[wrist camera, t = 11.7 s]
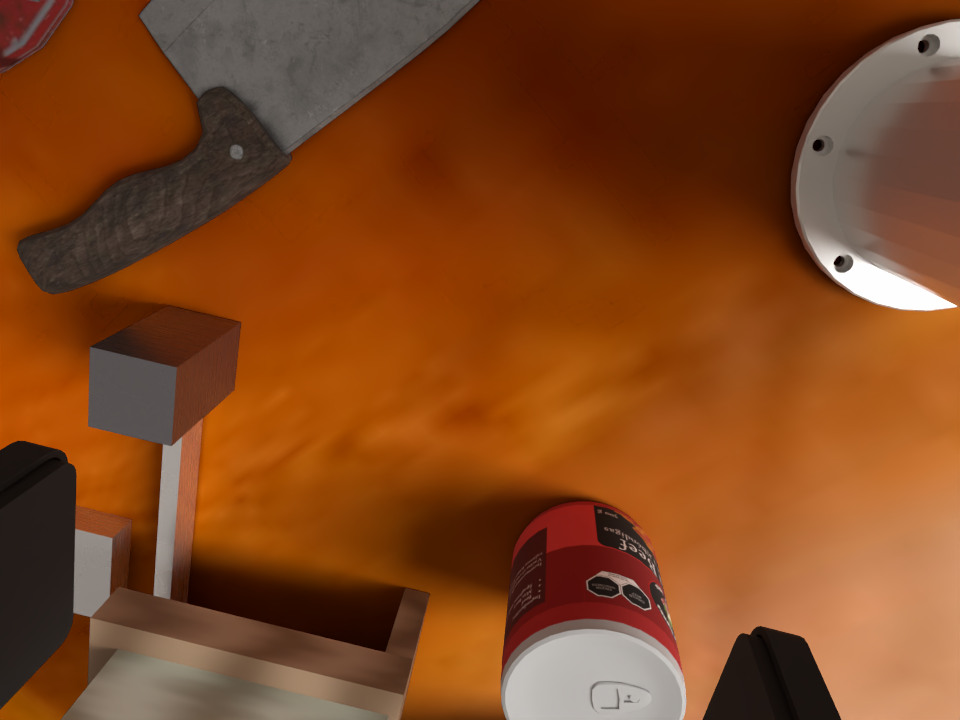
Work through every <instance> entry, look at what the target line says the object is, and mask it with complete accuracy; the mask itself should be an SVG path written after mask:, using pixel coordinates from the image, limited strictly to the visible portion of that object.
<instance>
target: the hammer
mask: <svg viewBox="0 0 960 720" xmlns="http://www.w3.org/2000/svg"><path fill="white" fill-rule="evenodd" d="M240 327H241V322H237V321H233V320H229V319H224V318H220V317H216V316H212V315H207V314H203V313H199V312H195V311H190V310H186V309H182V308H178V307H173V306H169V305H168V306H167V307H165V308H163V309H161V310H159V311H157V312H155V313H153V314H151V315H150V316H148V317H146V318H144V319H142V320H140V321H138V322H136V323H134V324H133V325H131V326H129V327H127V328H125V329H123V330H121V331H119V332H117V333H116V334H114V335H112V336H110V337H108V338H106V339H104V340H102V341H100V342H99V343H97V344H95V345H93V346H91V347H90V372H89V416H88V426H89V427H93V428H97V429H101V430H105V431H110V432H114V433H118V434H122V435H126V436H130V437H135V438H139V439H143V440H147V441H151V442H156V443H160V444H163V454H162V470H161V485H160V501H159V517H158V532H157V548H156V564H155V579H154V596H158V597H162V598H166V599H170V600H174V601H178V602H182V603H187V600H188V588H189V576H190V564H191V553H192V541H193V529H194V517H195V505H196V493H197V482H198V470H199V458H200V446H201V434H202V422H203V418H204V417H205V416H206V415H207V414H208V413H209V412H210V411H211V410H212V409H214V408H215V407H216V406H217V405H218V404H219V403H220V402H221V401H222V400H224V399H225V398H226V397H227V396H228V395H229V394H230V393H231V392H232V391H234V387H235V377H236V367H237V357H238V347H239V337H240Z"/></svg>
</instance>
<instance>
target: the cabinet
mask: <svg viewBox="0 0 960 720" xmlns="http://www.w3.org/2000/svg"><path fill="white" fill-rule="evenodd" d="M429 595H430V594H429V593H425V592H421V591H417V590H413V589H409V588H405V591H404V594H403V597H402V600H401V603H400V607H399V610H398V613H397V616H396V619H395V623H394V626H393V629H392V632H391V635H390V639H389V642H388V645H387V648H386V652H382V651H378V650H374V649H370V648H366V647H361V646H357V645H353V644H349V643H345V642H341V641H337V640H333V639H329V638H325V637H321V636H317V635H313V634H309V633H305V632H300V631H296V630H292V629H288V628H284V627H280V626H276V625H272V624H268V623H264V622H260V621H256V620H252V619H248V618H243V617H239V616H235V615H231V614H227V613H223V612H219V611H215V610H211V609H207V608H203V607H199V606H195V605H191V604H187V603H182V602H178V601H174V600H170V599H166V598H162V597H158V596H154V595H150V594H146V593H142V592H138V591H134V590H130V589H126V588H121V587H118V588H117V589H116V590H115V591H114V593H113V594H112V595H111V596H110V597H109V598H108V599H107V600H106V601H105V602H104V603H103V605H102V606H101V607H100V608H99V609H98V610H97V611H96V612H95V613H94V614H93V615H92V617H91V618H90V638H89V663H88V687H87V688H86V689H85V690H84V691H83V693H82V694H81V695H80V696H79V698H78V699H77V700H76V701H75V703H74V704H73V705H72V706H71V708H70V709H69V710H68V711H67V712H66V714H65V715H64V716H63V717H62V719H61V720H401V716H402V712H403V708H404V703H405V699H406V695H407V690H408V686H409V682H410V677H411V673H412V669H413V664H414V660H415V656H416V651H417V647H418V643H419V639H420V634H421V630H422V626H423V621H424V617H425V613H426V608H427V604H428V600H429Z"/></svg>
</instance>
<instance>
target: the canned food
mask: <svg viewBox="0 0 960 720" xmlns="http://www.w3.org/2000/svg"><path fill="white" fill-rule="evenodd" d="M685 692H686V689H685V683H684V677H683V672H682V668H681V662H680V657H679V652H678V648H677V644H676V640H675V636H674V631H673V627H672V623H671V619H670V615H669V610H668V606H667V602H666V598H665V594H664V589H663V585H662V581H661V577H660V573H659V568H658V564H657V560H656V556H655V552H654V549H653V546H652V544H651V542H650V539H649V538H648V536H647V535H646V534H645V532H644V531H643V530H642V528H641V527H640V526H639V525H638V524H637V523H636V522H635V521H634V520H633V519H631V518H630V517H629V516H628V515H627V514H625V513H623V512H622V511H620V510H618V509H617V508H614V507H611V506H609V505H606V504H602V503H597V502H592V501H575V502H568V503H563V504H560V505H557V506H554V507H551V508H549V509H548V510H546V511H544V512H542V513H541V514H539V515H538V516H537V517H536V518H534V519H533V520H532V521H531V522H530V523H529V525H528V526H527V527H526V528H525V530H524V531H523V532H522V534H521V535H520V537H519V539H518V541H517V543H516V545H515V549H514V553H513V557H512V567H511V577H510V587H509V597H508V607H507V617H506V627H505V637H504V647H503V657H502V673H501V697H502V707H503V711H504V715H505V717H506V719H507V720H683V717H684V715H685V708H686V694H685Z"/></svg>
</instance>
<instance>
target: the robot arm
mask: <svg viewBox="0 0 960 720" xmlns="http://www.w3.org/2000/svg"><path fill="white" fill-rule="evenodd" d="M919 41H922V42H923V43H924V49H923V51H922V52H921V53H919V51H918V43H919ZM817 139H819V140H820V141H821V147H820V149H819V150H817V151H815V150H813V143H814V141H816V140H817ZM791 205H792V211H793V216H794V221H795V226H796V228H797V231H798V233H799V236H800V238H801V240H802V243H803V245H804V247H805V249H806V251H807V252H808V253H809V255H810V256H811V258H812V259H813V260H814V262H815V263H816V265H817V266H818V268H820V269H821V270H822V271H823V272H824V273H825V274H826V275H827V276H828V277H829V278H830V279H832V280H833V281H834V282H835V283H836V284H838V285H839V286H841V287H843V288H844V289H846V290H847V291H849V292H850V293H852V294H853V295H856V296H858V297H860V298H862V299H864V300H867V301H869V302H871V303H873V304H876V305H880V306H884V307H888V308H893V309H897V310H905V311H934V310H942V309H950V308H956V307H960V19H954V20H946V21H942V22H937V23H933V24H929V25H924V26H921V27H919V28H916V29H913V30H911V31H908V32H905V33H903V34H900V35H897V36H895V37H893V38H891V39H889V40H888V41H886V42H884V43H883V44H881V45H879V46H877V47H876V48H874V49H872V50H871V51H869V52H867V53H866V54H865V55H864V56H862V57H861V58H860V59H859V60H858V61H856V62H855V63H854V64H853V65H851V66H850V67H849V68H848V69H847V70H845V71H844V72H843V73H842V74H841V75H840V77H839V78H838V79H837V80H836V81H835V82H834V83H833V85H832V86H831V87H830V88H829V89H828V90H827V92H826V93H825V94H824V95H823V96H822V98H821V100H820V101H819V103H818V104H817V106H816V108H815V109H814V111H813V113H812V114H811V116H810V117H809V119H808V121H807V123H806V125H805V128H804V130H803V133H802V135H801V138H800V140H799V143H798V145H797V148H796V153H795V158H794V163H793V168H792V172H791ZM838 256H841V262H840V263H839V264H837V265H834V260H835V259H836V258H837V257H838ZM75 515H76V469H75V467H74V466H73V465H72V464H70V463H68V460H67V457H66V455H65V453H64V452H62V451H61V450H58V449H54V448H50V447H46V446H42V445H38V444H34V443H30V442H26V441H17V442H14V443H12V444H10V445H8V446H6V447H5V448H3V449H1V450H0V709H1V708H2V707H3V706H4V705H5V704H6V703H7V702H8V701H9V700H10V699H11V698H12V697H13V695H14V694H15V693H16V692H17V691H18V690H19V689H20V688H21V687H22V686H23V685H24V684H25V683H26V682H27V681H28V680H29V679H30V678H31V676H32V675H33V674H34V673H35V672H36V671H37V670H38V669H39V668H40V667H41V666H42V665H43V664H44V663H45V662H46V661H47V660H48V659H49V657H50V656H51V655H52V654H53V653H54V652H55V651H56V650H57V649H58V648H59V647H60V646H61V644H62V643H63V642H64V640H65V639H66V637H67V635H68V633H69V631H70V629H71V626H72V622H73V608H74V562H75ZM703 720H841V718H840V716H839V713H838V711H837V709H836V707H835V704H834V702H833V700H832V698H831V695H830V693H829V691H828V689H827V686H826V684H825V682H824V680H823V677H822V675H821V673H820V671H819V669H818V666H817V664H816V662H815V660H814V657H813V655H812V653H811V651H810V648H809V646H808V644H807V642H806V641H805V639H804V638H802V637H800V636H798V635H794V634H790V633H786V632H782V631H778V630H774V629H770V628H766V627H762V626H759V627H756V628H755V629H754V630H753V631H752V633H751V635H748V634H744V633H743V634H740V635H739V636H738V637H737V639H736V641H735V643H734V646H733V648H732V651H731V653H730V655H729V658H728V660H727V662H726V665H725V667H724V670H723V672H722V674H721V677H720V679H719V682H718V684H717V686H716V689H715V691H714V694H713V696H712V698H711V701H710V703H709V706H708V708H707V710H706V713H705V715H704V718H703Z"/></svg>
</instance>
